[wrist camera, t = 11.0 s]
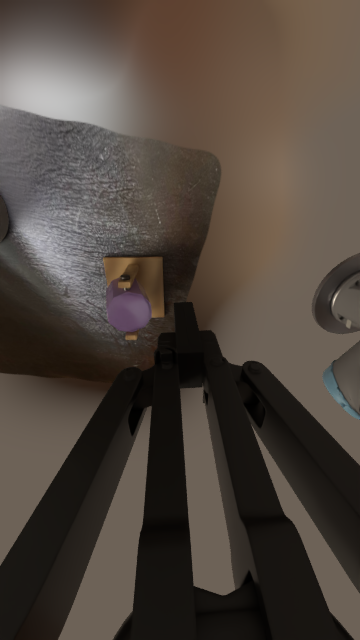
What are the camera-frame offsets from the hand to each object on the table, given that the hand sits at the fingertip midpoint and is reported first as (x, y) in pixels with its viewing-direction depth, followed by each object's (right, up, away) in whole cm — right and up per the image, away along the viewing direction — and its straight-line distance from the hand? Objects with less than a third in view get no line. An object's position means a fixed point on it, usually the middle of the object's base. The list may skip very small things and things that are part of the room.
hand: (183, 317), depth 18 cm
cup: (-9, +1, +19) cm, 21 cm away
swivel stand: (-10, +7, +29) cm, 32 cm away
